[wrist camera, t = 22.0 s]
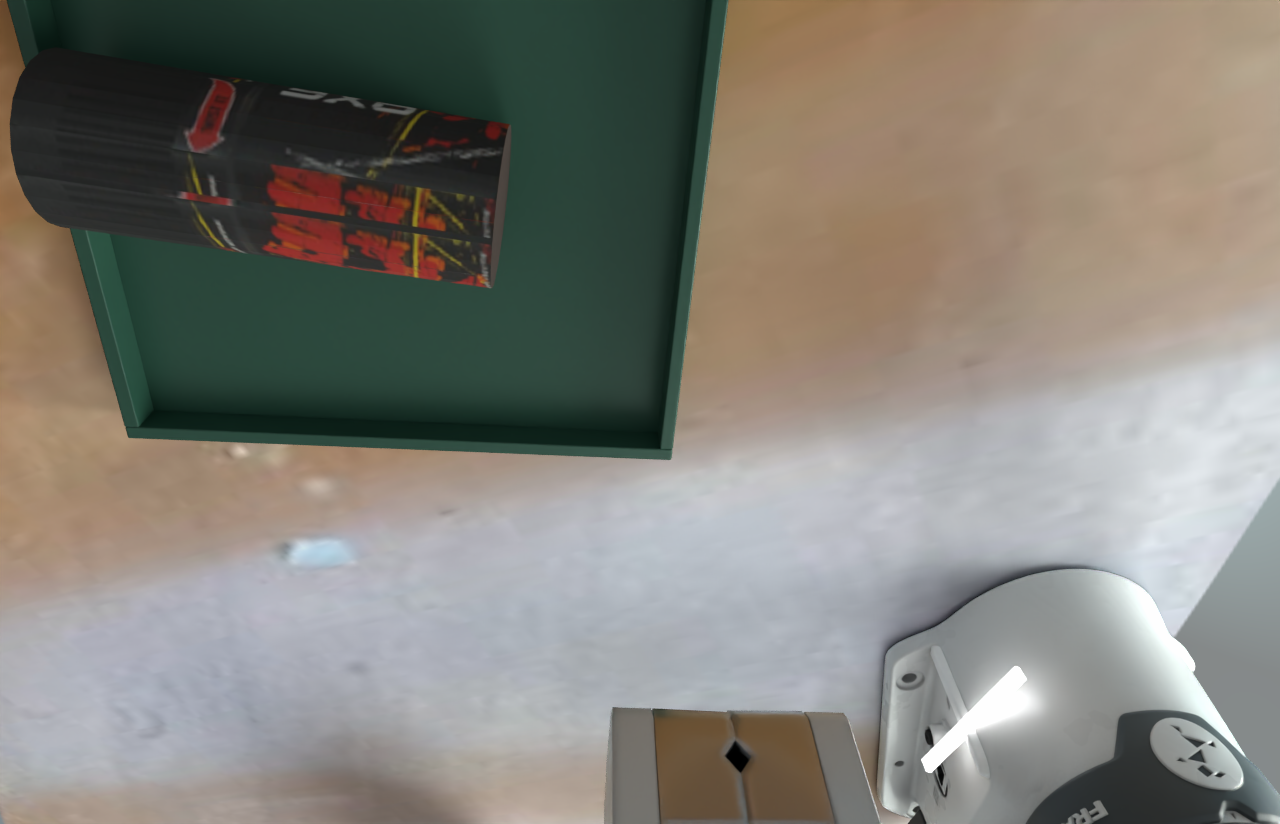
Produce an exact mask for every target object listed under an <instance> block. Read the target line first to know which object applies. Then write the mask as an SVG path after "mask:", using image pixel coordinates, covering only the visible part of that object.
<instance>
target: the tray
mask: <svg viewBox="0 0 1280 824" xmlns="http://www.w3.org/2000/svg"><path fill="white" fill-rule="evenodd" d="M7 3H8V7H9V10H10V14H11V17H12V21H13V25H14V28H15V32H16V36H17V39H18V43H19V46H20V50H21V54H22V57H23V61H24V64H25V68H26V66H27V65H28V63H29V61H30V60H31V59H33V58H34V57H35V56H36V55H37V54H39V53H40V52H41V51H42V50H46V49H50V48H54V47H57V48H63V49H69V50H75V51H81V52H87V53H93V54H98V55H104V56H110V57H116V58H122V59H128V60H134V61H140V62H146V63H151V64H157V65H163V66H169V67H175V68H181V69H187V70H193V71H199V72H205V73H210V74H216V75H222V76H228V77H234V78H240V79H246V80H252V81H258V82H264V83H269V84H275V85H281V86H287V87H293V88H299V89H305V90H311V91H317V92H322V93H328V94H334V95H340V96H346V97H352V98H358V99H364V100H370V101H376V102H381V103H387V104H393V105H399V106H405V107H411V108H417V109H423V110H429V111H435V112H440V113H446V114H452V115H458V116H464V117H470V118H476V119H482V120H488V121H494V122H499V123H505V124H510V125H511V157H510V170H509V182H508V192H507V202H506V211H505V219H504V227H503V235H502V242H501V249H500V256H499V262H498V268H497V273H496V278H495V282H494V285H493V287H492V288H486V287H479V286H472V285H465V284H458V283H451V282H444V281H437V280H430V279H423V278H416V277H409V276H402V275H395V274H388V273H381V272H374V271H367V270H360V269H353V268H346V267H339V266H332V265H325V264H318V263H311V262H304V261H297V260H290V259H283V258H276V257H269V256H262V255H255V254H248V253H241V252H234V251H227V250H220V249H213V248H206V247H199V246H192V245H185V244H177V243H170V242H163V241H156V240H149V239H142V238H135V237H128V236H121V235H114V234H107V233H100V232H93V231H86V230H79V229H72V228H70V230H71V234H72V237H73V241H74V245H75V248H76V252H77V255H78V259H79V263H80V266H81V270H82V273H83V277H84V281H85V284H86V288H87V291H88V295H89V299H90V302H91V306H92V309H93V313H94V317H95V320H96V324H97V327H98V331H99V335H100V338H101V342H102V345H103V349H104V353H105V356H106V360H107V364H108V367H109V371H110V374H111V378H112V382H113V385H114V389H115V392H116V396H117V400H118V403H119V407H120V410H121V414H122V418H123V421H124V425H125V426H126V431H127V435H128V437H129V438H145V439H169V440H194V441H219V442H243V443H268V444H292V445H317V446H341V447H366V448H391V449H415V450H440V451H464V452H489V453H514V454H538V455H563V456H587V457H612V458H636V459H661V460H671V457H672V448H673V441H674V433H675V425H676V417H677V409H678V401H679V393H680V385H681V377H682V369H683V361H684V353H685V345H686V337H687V329H688V321H689V313H690V305H691V297H692V289H693V281H694V273H695V265H696V257H697V249H698V241H699V233H700V225H701V217H702V208H703V200H704V192H705V184H706V176H707V168H708V160H709V152H710V144H711V136H712V128H713V120H714V112H715V104H716V96H717V88H718V80H719V72H720V64H721V56H722V48H723V40H724V32H725V24H726V16H727V8H728V0H7Z"/></svg>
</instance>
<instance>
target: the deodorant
mask: <svg viewBox="0 0 1280 824" xmlns="http://www.w3.org/2000/svg"><path fill="white" fill-rule="evenodd" d="M10 138H11V152H12V156H13V161H14V166H15V171H16V175H17V177H18V180H19V182H20V185H21V187H22V190H23V192H24V195H25V196H26V198H27V199H28V201H29V202H30V204H31V205H32V207H33V208H34V210H35V211H36V212H37V213H38V214H39V215H40V216H41V217H42V218H44V219H45V220H46V221H47V222H49V223H51V224H54V225H57V226H60V227H65V228H72V229H79V230H86V231H93V232H100V233H107V234H114V235H121V236H128V237H135V238H142V239H149V240H156V241H163V242H170V243H177V244H185V245H192V246H199V247H206V248H213V249H220V250H227V251H234V252H241V253H248V254H255V255H262V256H269V257H276V258H283V259H290V260H297V261H304V262H311V263H318V264H325V265H332V266H339V267H346V268H353V269H360V270H367V271H374V272H381V273H388V274H395V275H402V276H409V277H416V278H423V279H430V280H437V281H444V282H451V283H458V284H465V285H472V286H479V287H486V288H492V287H493V285H494V282H495V278H496V273H497V268H498V262H499V256H500V249H501V242H502V235H503V227H504V219H505V211H506V202H507V192H508V182H509V170H510V157H511V125H510V124H505V123H499V122H494V121H488V120H482V119H476V118H470V117H464V116H458V115H452V114H446V113H440V112H435V111H429V110H423V109H417V108H411V107H405V106H399V105H393V104H387V103H381V102H376V101H370V100H364V99H358V98H352V97H346V96H340V95H334V94H328V93H322V92H317V91H311V90H305V89H299V88H293V87H287V86H281V85H275V84H269V83H264V82H258V81H252V80H246V79H240V78H234V77H228V76H222V75H216V74H210V73H205V72H199V71H193V70H187V69H181V68H175V67H169V66H163V65H157V64H151V63H146V62H140V61H134V60H128V59H122V58H116V57H110V56H104V55H98V54H93V53H87V52H81V51H75V50H69V49H63V48H57V47H54V48H50V49H46V50H42V51H41V52H40V53H39V54H37V55H36V56H35V57H34V58H33V59H31V60H30V61H29V63H28V65H27V66H26V68H25V69H24V71H23V73H22V74H21V76H20V78H19V81H18V84H17V87H16V90H15V93H14V97H13V101H12V110H11V118H10Z"/></svg>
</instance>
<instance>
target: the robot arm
mask: <svg viewBox="0 0 1280 824" xmlns="http://www.w3.org/2000/svg"><path fill="white" fill-rule="evenodd" d="M1194 669H1195V664H1194V661H1193V660H1192V658H1191V656H1190V655H1189V653H1188V652H1187V650H1186V649H1185V647H1184V646H1183V645H1182V644H1180V643H1179V642H1178V641H1177V640H1176V639H1174V638H1173V637H1171V636H1170V634H1169V632H1168V630H1167V628H1166V626H1165V624H1164V622H1163V620H1162V617H1161V615H1160V613H1159V610H1158V608H1157V606H1156V604H1155V602H1154V601H1153V599H1152V598H1151V596H1150V595H1149V594H1148V593H1147V592H1146V591H1145V590H1144V589H1143V588H1142V587H1140V586H1139V585H1137V584H1136V583H1134V582H1133V581H1131V580H1129V579H1127V578H1125V577H1122V576H1119V575H1117V574H1113V573H1109V572H1105V571H1100V570H1092V569H1061V570H1053V571H1047V572H1041V573H1037V574H1032V575H1029V576H1025V577H1022V578H1019V579H1015V580H1013V581H1010V582H1007V583H1005V584H1003V585H1000V586H998V587H996V588H994V589H992V590H990V591H988V592H986V593H984V594H982V595H980V596H978V597H977V598H975V599H974V600H972V601H970V602H969V603H968V604H966V605H965V606H963V607H962V608H961V609H959V610H958V611H957V612H955V613H954V614H953V615H952V616H950V617H949V618H948V619H946V620H945V621H943V622H942V623H941V624H939V625H937V626H936V627H934V628H932V629H929V630H926V631H924V632H921V633H918V634H916V635H913V636H911V637H909V638H906V639H904V640H902V641H900V642H898V643H896V644H895V645H893V646H892V647H891V648H890V649H889V650H888V651H887V653H886V656H885V666H884V681H883V696H882V712H881V727H880V743H879V758H878V774H877V795H878V797H879V800H880V802H881V804H882V806H883V807H884V808H885V809H887V810H889V811H891V812H893V813H896V814H898V815H901V816H904V817H907V818H911V820H910V822H909V823H908V824H1280V796H1279V794H1278V793H1277V791H1276V790H1275V789H1274V787H1273V786H1272V785H1271V784H1270V782H1269V781H1268V780H1267V779H1266V777H1265V776H1264V775H1263V773H1262V772H1261V771H1260V770H1259V768H1258V767H1257V766H1255V765H1254V764H1253V763H1252V762H1251V761H1249V760H1248V759H1247V758H1246V757H1245V755H1244V753H1243V751H1242V750H1241V748H1240V747H1239V745H1238V743H1237V742H1236V740H1235V739H1234V737H1233V735H1232V734H1231V732H1230V731H1229V729H1228V728H1227V726H1226V724H1225V723H1224V721H1223V720H1222V718H1221V716H1220V715H1219V713H1218V712H1217V710H1216V708H1215V707H1214V705H1213V704H1212V702H1211V701H1210V699H1209V698H1208V696H1207V694H1206V693H1205V691H1204V690H1203V688H1202V687H1201V685H1200V684H1199V682H1198V681H1197V679H1196V677H1195V676H1194V674H1193V672H1194ZM604 824H881V821H880V818H879V815H878V811H877V808H876V805H875V802H874V799H873V795H872V792H871V789H870V786H869V783H868V779H867V776H866V773H865V770H864V767H863V763H862V760H861V757H860V754H859V751H858V748H857V744H856V741H855V738H854V735H853V732H852V728H851V725H850V722H849V720H848V718H847V717H846V716H845V715H844V713H828V712H804V713H803V712H802V711H727V712H715V711H694V710H673V709H652V710H651V709H648V708H618V707H613V708H612V710H611V717H610V729H609V740H608V752H607V764H606V783H605V802H604Z"/></svg>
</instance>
